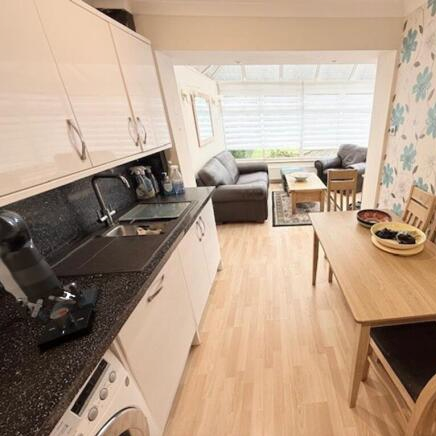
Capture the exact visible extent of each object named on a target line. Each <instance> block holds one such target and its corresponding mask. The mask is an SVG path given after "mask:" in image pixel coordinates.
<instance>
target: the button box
mask: <svg viewBox="0 0 436 436" xmlns="http://www.w3.org/2000/svg"><path fill="white" fill-rule="evenodd" d="M81 291H82V292H83V294H84V295H83V297H82V300H79V302H80V304H81V305H82V308H81V310H84V309H87V308H90V307H92V308H95V305H96V301H97V298H98V294H99V289H98V287H97V286H94V287H91V288H88V289H84V290H83V289H81ZM62 297H63V298H64V296H62ZM62 308H68V310H69V311H70V313H71V314H72V313H75V310H74V309H73V307H72V304H70V303H67V302H66V303H63V302H58V303H54V305H53V307H52V310H51V313H50V314H49V318H50V316H51V314H52V313H54V312H55V311H57V310H59V309H62ZM81 310H80V311H81Z"/></svg>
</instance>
